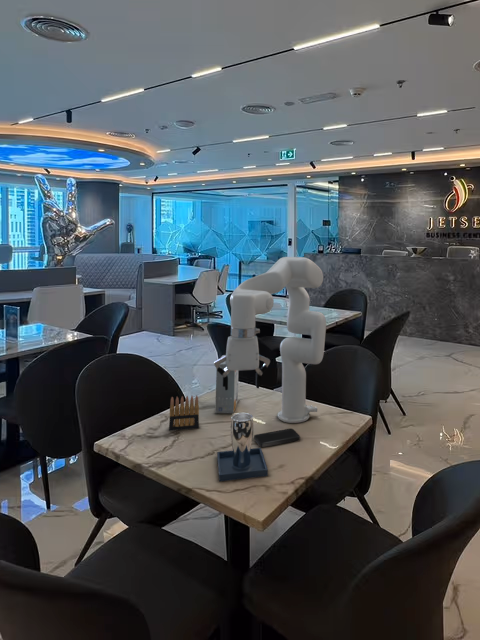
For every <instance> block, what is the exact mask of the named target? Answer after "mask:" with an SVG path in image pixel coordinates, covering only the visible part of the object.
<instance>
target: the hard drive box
mask: <svg viewBox="0 0 480 640" xmlns="http://www.w3.org/2000/svg"><path fill="white" fill-rule="evenodd" d="M224 356H226V354H223V355H221V356H220V358H222V357H224ZM220 367H221V368H222V369H223V370H224V369H225V368H226V367H227V366H226V361H225V362H223V363H221V364H220ZM215 375H216V376H215V402H214V403H215V405H214V413H215V414H235V410H236V408H237V405H238V402H239V371H230V372H229V373H228V390H225V387H223V376H222V375H221V374H220V373H219V372H218V371H217V369H216V368H215Z"/></svg>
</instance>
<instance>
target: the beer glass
mask: <svg viewBox="0 0 480 640" xmlns="http://www.w3.org/2000/svg"><path fill="white" fill-rule="evenodd" d="M230 421H231V422H230V441H231V446H232V451H233V460H232V468H234V469H236V470H245V469H248V468H249V467H250V466H251V458H250V450H251V449H252V444H253V440H254V416H253V415H252V414H251V413H250V412H249V413H248V412H237V413H233V415H232V416H231V420H230Z"/></svg>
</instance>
